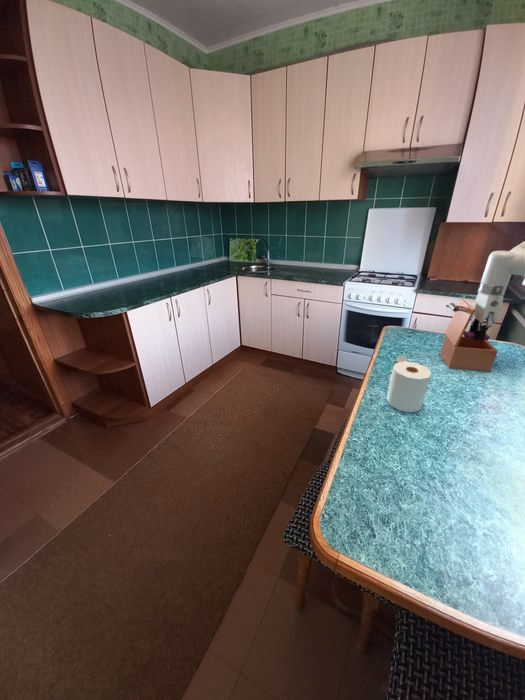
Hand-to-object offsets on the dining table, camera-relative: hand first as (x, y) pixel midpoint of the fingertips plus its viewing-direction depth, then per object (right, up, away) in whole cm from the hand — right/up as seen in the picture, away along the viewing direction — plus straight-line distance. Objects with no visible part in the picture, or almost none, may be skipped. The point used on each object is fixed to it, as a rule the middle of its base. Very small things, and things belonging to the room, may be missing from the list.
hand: (475, 336), depth 108 cm
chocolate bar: (0, 0, 0) cm, 0 cm away
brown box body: (-1, -10, +5) cm, 11 cm away
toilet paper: (-35, -22, -16) cm, 44 cm away
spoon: (-28, -13, +2) cm, 31 cm away
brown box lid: (-6, +5, -1) cm, 8 cm away
